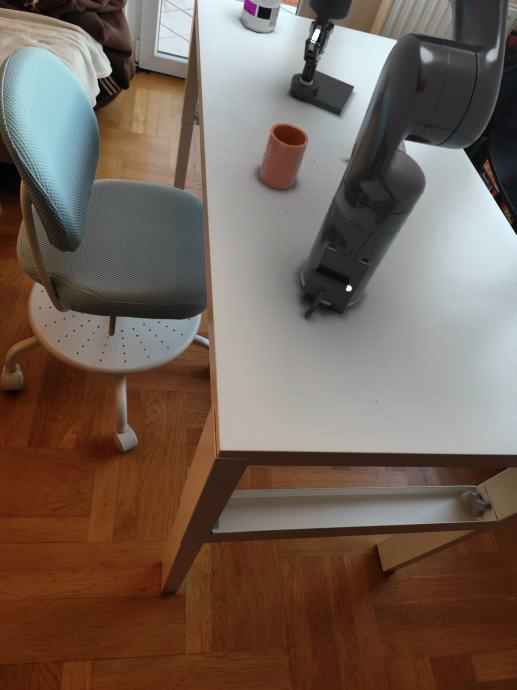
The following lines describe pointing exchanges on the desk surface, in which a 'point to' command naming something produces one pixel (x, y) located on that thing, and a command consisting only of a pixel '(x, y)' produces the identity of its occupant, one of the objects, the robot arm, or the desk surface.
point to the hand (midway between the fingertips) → (306, 79)
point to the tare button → (305, 82)
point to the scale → (323, 92)
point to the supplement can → (260, 14)
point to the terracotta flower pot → (283, 156)
